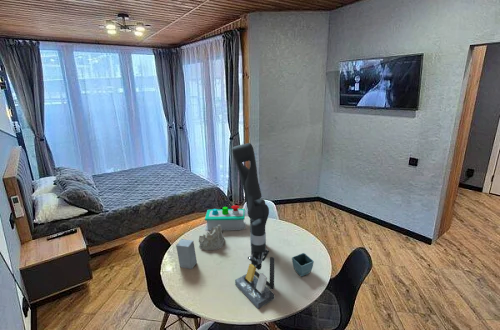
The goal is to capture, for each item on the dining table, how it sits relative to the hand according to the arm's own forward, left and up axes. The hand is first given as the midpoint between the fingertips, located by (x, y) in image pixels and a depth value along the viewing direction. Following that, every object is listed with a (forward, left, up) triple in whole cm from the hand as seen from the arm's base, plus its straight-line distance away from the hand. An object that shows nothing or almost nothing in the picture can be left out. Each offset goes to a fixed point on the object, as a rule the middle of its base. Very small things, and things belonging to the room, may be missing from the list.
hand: (258, 268), depth 141 cm
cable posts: (-3, 0, -8) cm, 9 cm away
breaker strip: (+6, +4, -8) cm, 11 cm away
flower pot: (-24, +9, -8) cm, 27 cm away
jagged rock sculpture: (+3, -47, -8) cm, 48 cm away
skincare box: (+25, -36, -8) cm, 45 cm away
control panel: (-16, -60, -8) cm, 63 cm away
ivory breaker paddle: (+6, +9, -4) cm, 12 cm away
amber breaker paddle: (+6, 0, -4) cm, 8 cm away
